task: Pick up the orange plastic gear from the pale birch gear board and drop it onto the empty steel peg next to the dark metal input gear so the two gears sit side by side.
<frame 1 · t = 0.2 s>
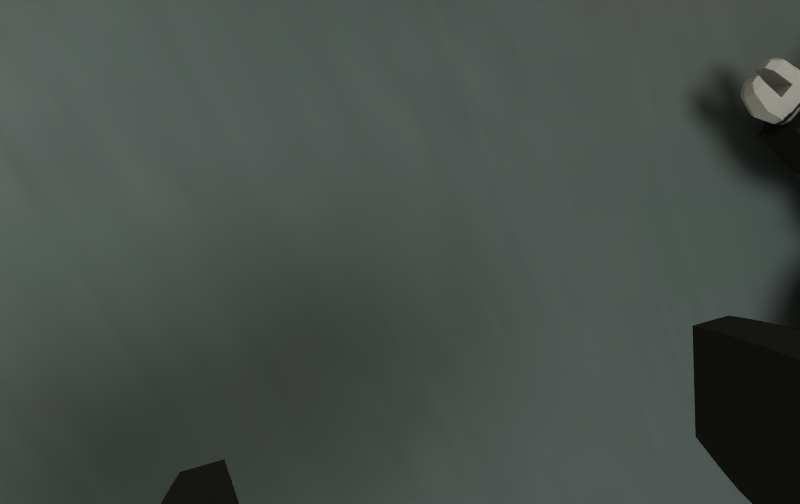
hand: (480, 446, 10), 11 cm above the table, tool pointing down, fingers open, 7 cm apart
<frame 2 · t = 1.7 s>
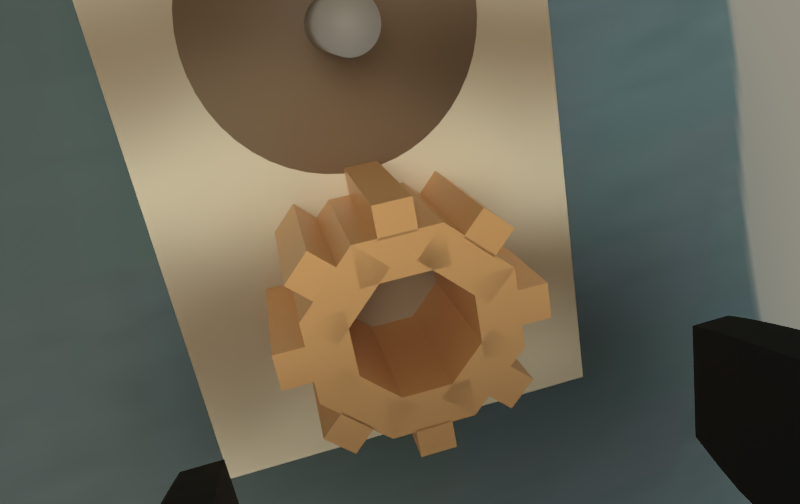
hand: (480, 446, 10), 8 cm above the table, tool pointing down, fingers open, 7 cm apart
gear board: (331, 46, 16), on the table
orange gear: (383, 275, 17), point 1 cm above the table, touching gear board
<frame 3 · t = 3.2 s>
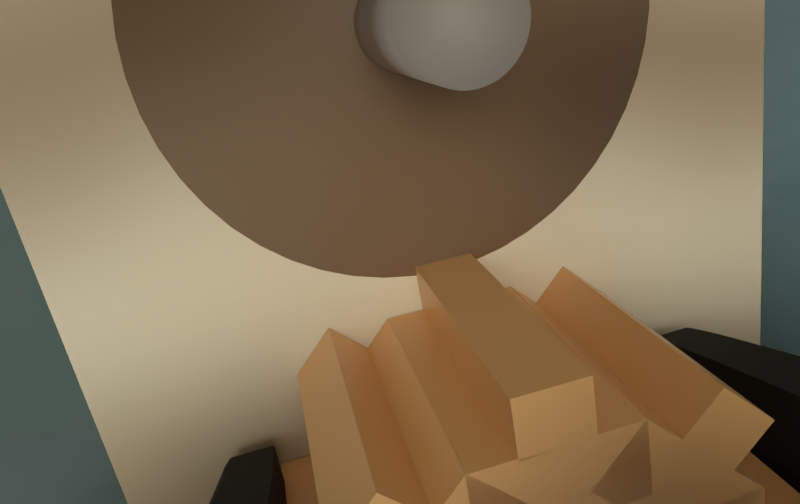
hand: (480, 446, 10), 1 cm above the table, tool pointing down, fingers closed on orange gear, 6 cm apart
gear board: (392, 60, 9), on the table
orange gear: (471, 431, 10), point 1 cm above the table, touching gear board, gripper
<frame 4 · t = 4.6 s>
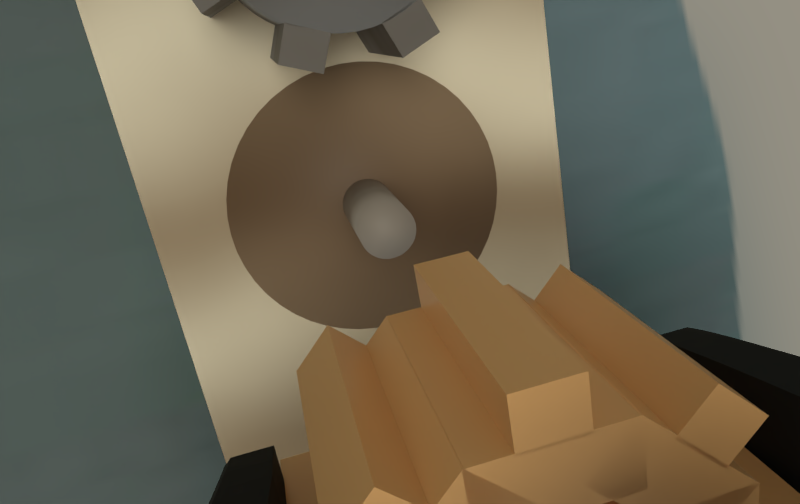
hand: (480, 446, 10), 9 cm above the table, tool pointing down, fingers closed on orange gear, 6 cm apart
gear board: (364, 212, 17), on the table
orange gear: (469, 428, 10), point 8 cm above the table, touching gripper
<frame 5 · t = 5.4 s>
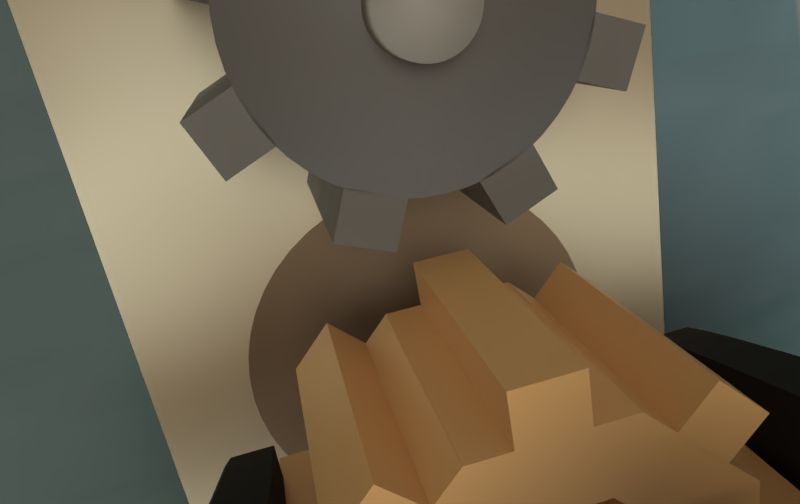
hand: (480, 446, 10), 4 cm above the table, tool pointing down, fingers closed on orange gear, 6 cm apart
gear board: (417, 351, 14), on the table
orange gear: (469, 426, 10), point 4 cm above the table, touching gripper
when the fingers open (3 cm above the table, at t = 6.2 s): orange gear drops 1 cm, resting on gear board.
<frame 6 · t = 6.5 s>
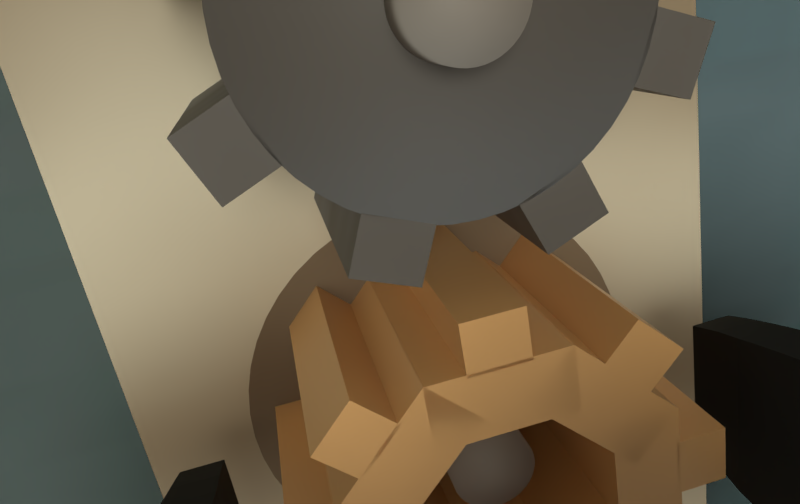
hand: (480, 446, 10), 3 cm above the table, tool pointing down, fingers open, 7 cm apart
gear board: (433, 379, 13), on the table
orange gear: (443, 381, 12), point 1 cm above the table, touching gear board
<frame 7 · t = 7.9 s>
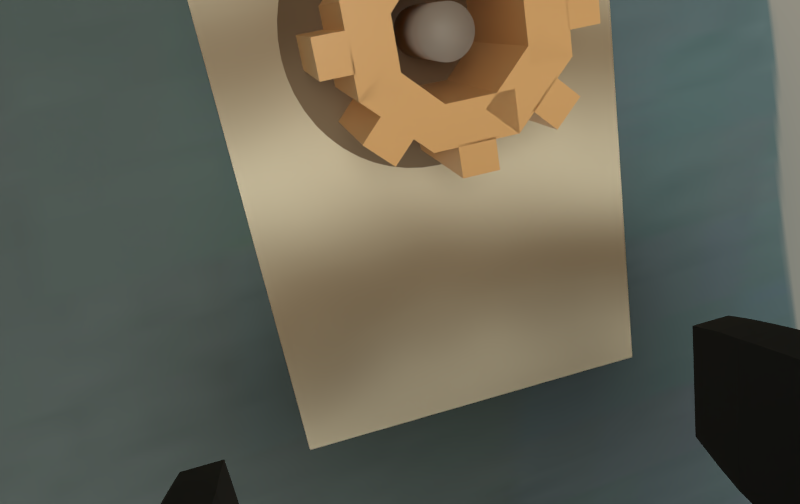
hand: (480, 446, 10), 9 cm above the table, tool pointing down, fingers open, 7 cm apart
gear board: (411, 51, 17), on the table
orange gear: (417, 29, 16), point 1 cm above the table, touching gear board
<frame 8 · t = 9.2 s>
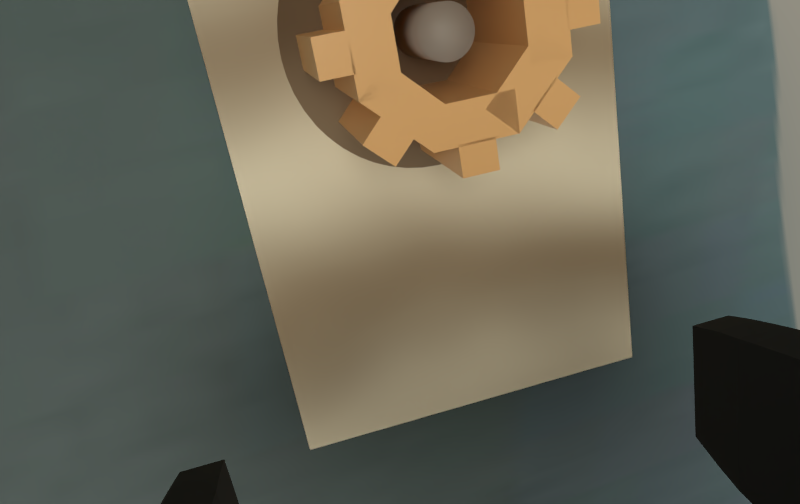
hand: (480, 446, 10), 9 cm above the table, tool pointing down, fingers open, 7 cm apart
gear board: (411, 51, 17), on the table
orange gear: (417, 29, 16), point 1 cm above the table, touching gear board
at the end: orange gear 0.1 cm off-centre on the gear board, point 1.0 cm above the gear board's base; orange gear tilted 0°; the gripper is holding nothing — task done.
